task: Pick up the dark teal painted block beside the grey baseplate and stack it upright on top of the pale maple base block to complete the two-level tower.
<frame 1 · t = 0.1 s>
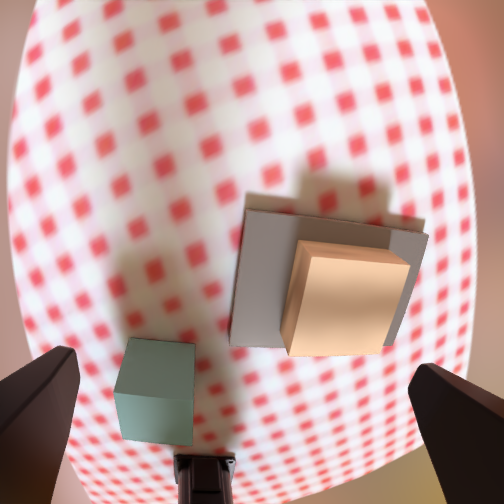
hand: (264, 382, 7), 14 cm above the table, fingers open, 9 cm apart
baseplate: (332, 287, 23), on the table
maple base block: (335, 291, 23), point 1 cm above the table, touching baseplate
teal block: (162, 366, 24), on the table
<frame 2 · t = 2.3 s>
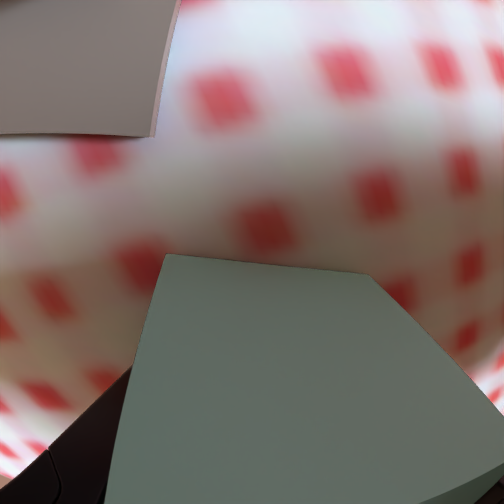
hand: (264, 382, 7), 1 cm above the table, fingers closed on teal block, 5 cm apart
teal block: (256, 351, 8), on the table, touching gripper
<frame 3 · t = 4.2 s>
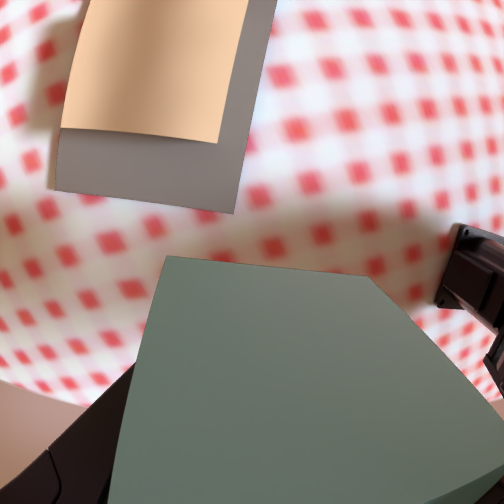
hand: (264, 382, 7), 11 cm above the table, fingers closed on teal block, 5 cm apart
baseplate: (162, 69, 14), on the table
maple base block: (160, 66, 14), point 1 cm above the table, touching baseplate
teal block: (256, 353, 8), point 10 cm above the table, touching gripper
when the fingers open (6 cm above the table, at t = 6.3 s): teal block drops 1 cm, resting on maple base block.
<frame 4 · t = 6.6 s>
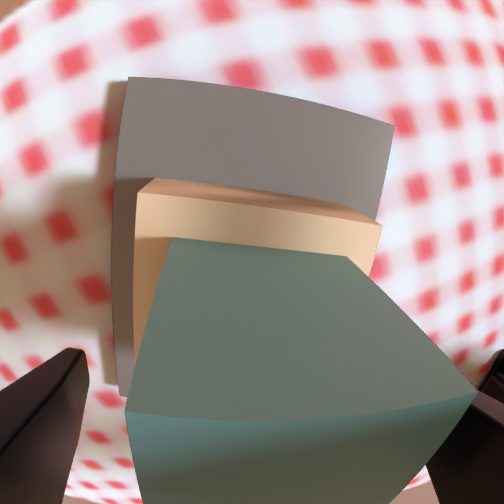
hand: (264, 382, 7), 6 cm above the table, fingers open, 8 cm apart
baseplate: (238, 273, 13), on the table
maple base block: (239, 280, 13), point 1 cm above the table, touching baseplate, teal block
teal block: (250, 324, 10), point 4 cm above the table, touching maple base block
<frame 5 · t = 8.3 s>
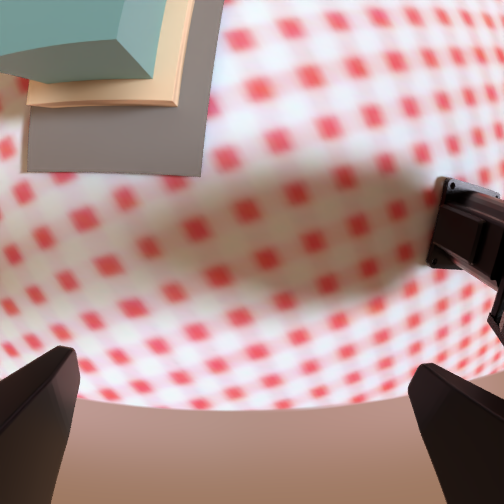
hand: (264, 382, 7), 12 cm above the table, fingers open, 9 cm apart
baseplate: (123, 45, 14), on the table
maple base block: (120, 42, 13), point 1 cm above the table, touching baseplate, teal block
teal block: (105, 27, 10), point 4 cm above the table, touching maple base block
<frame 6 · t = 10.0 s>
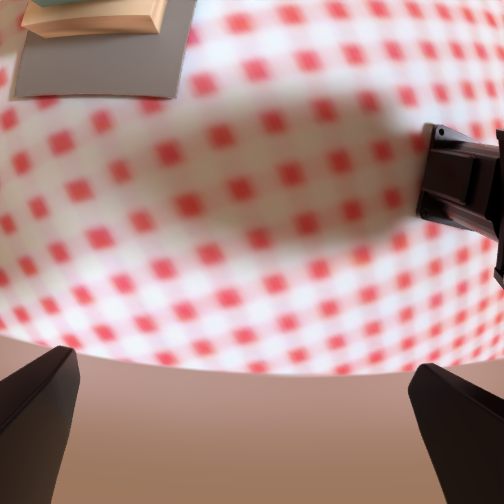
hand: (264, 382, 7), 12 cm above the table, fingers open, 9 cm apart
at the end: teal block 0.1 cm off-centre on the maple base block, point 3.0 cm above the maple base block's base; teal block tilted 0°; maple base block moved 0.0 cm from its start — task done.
